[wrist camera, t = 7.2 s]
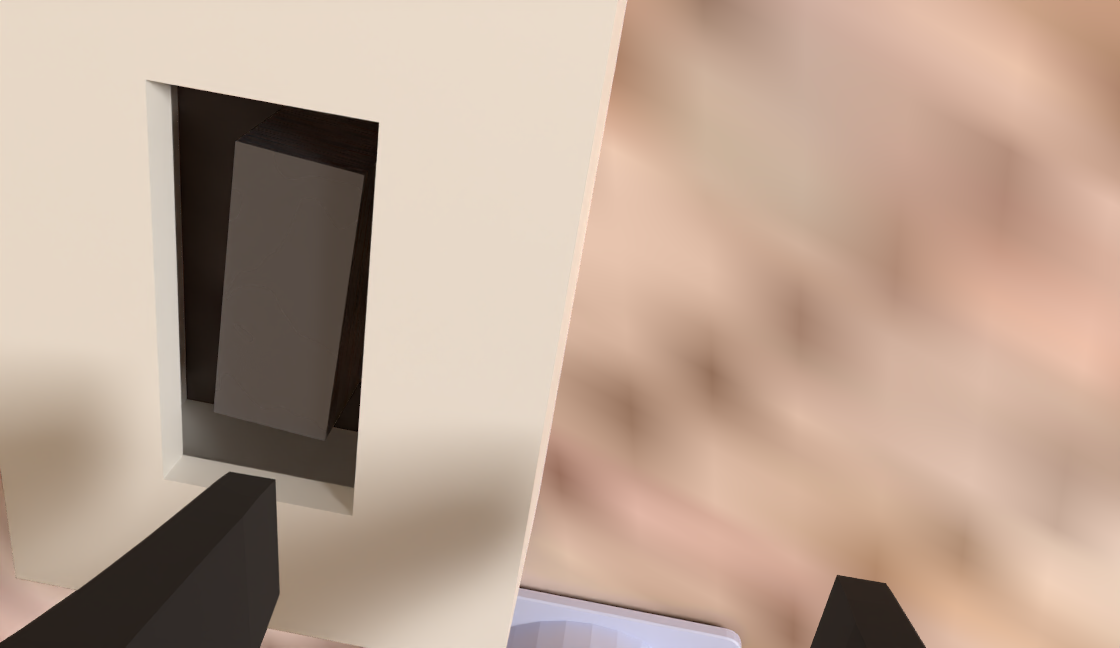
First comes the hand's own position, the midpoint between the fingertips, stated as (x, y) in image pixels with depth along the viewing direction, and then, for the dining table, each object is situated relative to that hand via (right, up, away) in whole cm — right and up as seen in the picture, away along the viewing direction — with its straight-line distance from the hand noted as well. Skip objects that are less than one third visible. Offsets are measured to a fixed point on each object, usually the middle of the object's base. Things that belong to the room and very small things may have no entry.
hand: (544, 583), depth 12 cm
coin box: (-4, +6, +9) cm, 12 cm away
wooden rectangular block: (-4, +6, +9) cm, 12 cm away
